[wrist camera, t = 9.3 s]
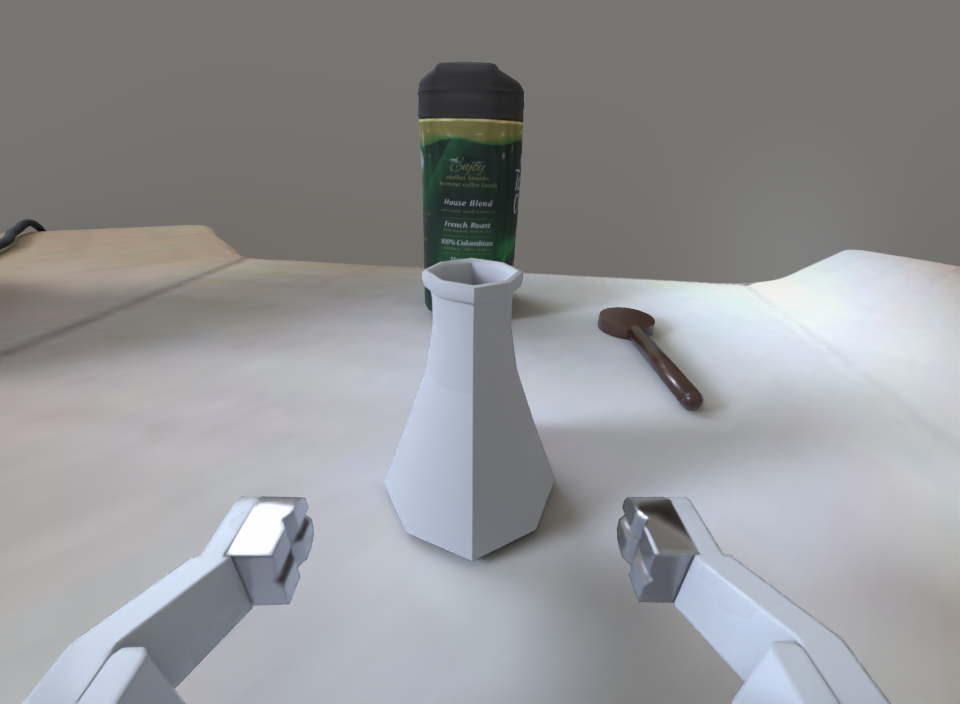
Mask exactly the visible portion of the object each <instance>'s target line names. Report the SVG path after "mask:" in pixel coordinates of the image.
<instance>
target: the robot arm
mask: <svg viewBox="0 0 960 704" xmlns="http://www.w3.org/2000/svg"><path fill="white" fill-rule="evenodd" d="M28 226H32V227H33V228H35V229H36V230H37V231H46V230H45V229H44V228H43V227H42V226H41V225H40V224H39V223H38V222H36V221H34V220H30V219H26V220H22V221H20V222H19V223H17V224H16V225H15V226H14V227H13V228H11V229H9V230H8V231H7V232H6V233H5V235H4V237H3V238H1V239H0V249H3V248H5V247H7V246H9V245H10V244H12V243H13V242H14V240H15V237H16V236H17V235H18V234H20V233H21V232H22V231H23V230H25V228H27V227H28ZM622 508H623V510H624V513H625V515H624V516H623V517H621V518H620V519H619V522H618V526H617V540H618V545H619V549H620V552H621V555H622V558H623V559H624V560H625V561H627V562H628V563H629V564H630V565H631V569H630V572H629V577H630V580H631V583H632V585H633V588H634V591H635V594H636V596H637V599H638V602H662V603H674V604H673V605H674V606H675V607H676V608H677V609H678V610H679V611H680V612H681V614H682V615H683V616H684V617H685V618H686V619H687V620H688V621H689V622H690V623H691V624H692V625H693V627H694V628H695V629H696V630H697V631H698V632H699V633H700V634H701V635H702V636H703V637H704V638H705V640H706V641H707V642H708V643H709V644H710V645H711V646H712V647H713V648H714V649H715V650H716V652H717V653H718V654H719V655H720V656H721V657H722V658H723V659H724V660H725V661H726V662H727V663H728V665H729V666H730V667H731V668H732V669H733V670H734V671H735V672H736V673H737V674H738V675H739V676H740V678H741V679H742V680H743V681H744V683H743V685H742V686H741V688H740V689H739V691H738V692H737V693H736V695H735V696H734V698H733V700H732V703H731V704H891V703H890V702H889V701H888V699H887V698H886V697H885V695H884V694H883V693H882V691H881V690H880V688H879V687H878V686H877V684H876V683H875V682H874V680H873V679H872V678H871V676H870V675H869V674H868V672H867V671H866V670H865V668H864V667H863V665H862V664H861V663H860V661H859V660H858V659H857V657H856V656H855V655H854V653H853V652H852V651H851V649H850V648H849V647H848V645H847V644H846V642H845V641H844V640H843V639H842V638H841V637H839V636H838V635H837V634H835V633H834V632H833V631H831V630H830V629H829V628H827V627H826V626H825V625H823V624H822V623H821V622H819V621H818V620H817V619H815V618H814V617H813V616H811V615H810V614H809V613H807V612H806V611H805V610H803V609H802V608H801V607H799V606H798V605H796V604H795V603H794V602H792V601H791V600H790V599H788V598H787V597H786V596H784V595H783V594H782V593H780V592H779V591H778V590H776V589H775V588H774V587H772V586H771V585H770V584H768V583H767V582H766V581H764V580H763V579H762V578H760V577H759V576H758V575H756V574H755V573H753V572H752V571H751V570H749V569H748V568H747V567H745V566H744V565H743V564H741V563H740V562H739V561H737V560H736V559H735V558H733V557H732V556H731V555H724V554H723V553H722V551H721V549H720V548H719V546H718V545H717V543H716V541H715V540H714V538H713V536H712V535H711V533H710V532H709V530H708V528H707V527H706V525H705V523H704V522H703V520H702V518H701V517H700V515H699V514H698V512H697V510H696V509H695V507H694V505H693V504H692V502H691V501H690V500H689V499H688V498H687V497H627V498H626V499H625V500H624V504H623V507H622ZM307 510H308V504H307V501H306V498H301V497H265V496H263V497H256V496H242V497H241V498H239V499H238V500H237V501H236V502H235V503H234V505H233V506H232V508H231V509H230V511H229V513H228V514H227V516H226V517H225V519H224V520H223V522H222V523H221V525H220V526H219V528H218V529H217V531H216V532H215V534H214V536H213V537H212V539H211V540H210V542H209V543H208V545H207V546H206V548H205V549H204V551H203V552H202V554H201V556H198V557H192V558H191V559H189V560H188V561H187V562H185V563H184V564H182V565H181V566H179V567H178V568H177V569H175V570H174V571H172V572H171V573H170V574H168V575H167V576H165V577H164V578H163V579H161V580H160V581H158V582H157V583H156V584H154V585H153V586H151V587H150V588H148V589H147V590H146V591H144V592H143V593H141V594H140V595H139V596H137V597H136V598H134V599H133V600H132V601H130V602H129V603H127V604H126V605H124V606H123V607H122V608H120V609H119V610H117V611H116V612H115V613H113V614H112V615H110V616H109V617H108V618H106V619H105V620H103V621H102V622H101V623H99V624H98V625H96V626H95V627H93V628H92V629H91V630H89V631H88V632H86V633H85V634H84V635H82V636H81V637H79V638H78V639H77V640H75V641H74V642H72V643H71V644H70V645H68V646H67V648H66V649H65V650H64V651H63V653H62V654H61V655H60V656H59V658H58V659H57V660H56V661H55V663H54V664H53V665H52V666H51V668H50V669H49V670H48V671H47V673H46V674H45V675H44V677H43V678H42V679H41V680H40V682H39V683H38V684H37V685H36V687H35V688H34V689H33V690H32V692H31V693H30V694H29V695H28V697H27V698H26V699H25V700H24V702H23V703H22V704H185V702H184V701H183V699H182V698H181V697H180V695H179V694H178V693H177V691H176V690H175V688H176V687H177V686H178V685H179V684H180V683H181V682H182V681H183V680H184V679H185V678H186V677H187V675H188V674H189V673H190V672H191V671H192V670H193V669H194V668H195V667H196V666H197V665H198V664H199V663H200V662H201V661H202V660H203V659H204V658H205V657H206V656H207V655H208V654H209V653H210V652H211V651H212V649H213V648H214V647H215V646H216V645H217V644H218V643H219V642H220V641H221V640H222V639H223V638H224V637H225V636H226V635H227V634H228V633H229V632H230V631H231V630H232V629H233V628H234V627H235V626H236V625H237V624H238V622H239V621H240V620H241V619H242V618H243V617H244V616H245V615H246V614H247V613H248V612H249V611H250V610H251V609H252V606H253V605H281V604H290V602H291V599H292V597H293V594H294V591H295V589H296V586H297V584H298V581H299V579H300V573H299V570H298V567H299V566H300V565H301V564H302V563H303V562H304V561H305V560H307V558H308V555H309V553H310V550H311V547H312V541H313V536H314V530H313V523H312V519H311V518H309V517H308V516H307V515H306V512H307Z"/></svg>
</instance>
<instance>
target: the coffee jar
mask: <svg viewBox="0 0 960 704" xmlns="http://www.w3.org/2000/svg"><path fill="white" fill-rule="evenodd" d="M418 95H419V108H418V117H419V118H420V120H419V133H420V147H421V164H422V188H423V221H424V270H425V269H427V268H429V267H431V266H433V265H435V264H437V263H439V262H443V261H451V260H459V259H467V258H475V259H482V260H490V261H497V262H503V263H505V264H508V265H510V266H512V267H513V265H514V250H515V238H516V227H517V215H518V203H519V202H518V201H519V189H520V173H521V154H522V136H523V134H522V133H523V123H522V122H523V109H524V100H523V98H524V91H523V89H522V87H521V85H520V84H519V83H518V82H517V81H516V80H514V79H512V78H511V77H510V76H508V75H506V74H505V73H503V72H502V71H500V70H499V69H498V67H497V66H496V65H495V64H492V63H481V62H448V63H439V64H438V65H437V66H436V67H435V69H434V70H433V71H431V72H430V73H428V74H427V75H426V76H425V77H424V78H423V79H422V80H421V81H420V83H419V92H418ZM425 303H426V306H427V307H428V309H429V310H430V311H432V295H431V291H430V290H429V289H428V288H426V287H425ZM432 312H433V311H432Z"/></svg>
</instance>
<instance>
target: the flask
mask: <svg viewBox="0 0 960 704" xmlns="http://www.w3.org/2000/svg"><path fill="white" fill-rule="evenodd" d="M422 280H423V283H424V285H425V287H426V288H428V289H429V290H430V291H431V295H432V311H433V329H432V335H431V341H430V347H429V353H428V360H427V366H426V371H425V374H424V377H423V379H422V382H421V385H420V388H419V391H418V394H417V397H416V399H415V402H414V405H413V408H412V411H411V414H410V417H409V420H408V422H407V425H406V428H405V430H404V433H403V435H402V438H401V440H400V443H399V445H398V448H397V450H396V453H395V455H394V458H393V460H392V463H391V465H390V468H389V470H388V473H387V476H386V479H385V482H384V484H385V486H386V488H387V491H388V493H389V495H390V497H391V500H392V502H393V504H394V506H395V509H396V511H397V513H398V515H399V518H400V520H401V522H402V524H403V527H404V529H405V531H406V533H409V534H411V535H413V536H416V537H418V538H420V539H422V540H425V541H427V542H429V543H432V544H434V545H436V546H438V547H441V548H443V549H445V550H448V551H450V552H452V553H454V554H457V555H459V556H461V557H464V558H466V559H468V560H470V561H474V560H476V559H478V558H480V557H482V556H484V555H486V554H488V553H490V552H492V551H494V550H496V549H498V548H500V547H502V546H504V545H506V544H508V543H510V542H512V541H514V540H516V539H518V538H520V537H522V536H524V535H526V534H528V533H530V532H532V531H534V530H536V528H537V526H538V523H539V520H540V518H541V515H542V512H543V510H544V507H545V504H546V502H547V499H548V496H549V494H550V491H551V488H552V486H553V483H554V481H555V480H554V476H553V473H552V470H551V467H550V464H549V462H548V459H547V456H546V454H545V451H544V448H543V446H542V443H541V440H540V438H539V435H538V432H537V430H536V427H535V424H534V421H533V418H532V415H531V412H530V409H529V406H528V403H527V399H526V396H525V393H524V390H523V387H522V384H521V381H520V378H519V375H518V371H517V367H516V359H515V352H514V345H513V338H512V330H511V317H512V298H513V293H514V291H516V290H517V289H518V288H519V287H520V285H521V283H522V280H523V272H522V271H520V270H518V269H516V268H514V267H512V266H510V265H508V264H505V263H503V262H497V261H490V260H482V259H475V258H467V259H459V260H451V261H443V262H439V263H437V264H435V265H433V266H431V267H429V268H427V269H425V270H423V271H422Z"/></svg>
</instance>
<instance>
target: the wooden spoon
mask: <svg viewBox="0 0 960 704" xmlns="http://www.w3.org/2000/svg"><path fill="white" fill-rule="evenodd" d="M654 324H655V320H654V318H653V317H652V316H650V315H648V314H647V313H644V312H642V311H639V310H635V309H630V308H621V307H615V308H607V309H604V310H602V311H601V312H600V315H599V320H598V327H599V328H600V329H601V330H602V331H603V332H605V333H607V334H609V335H612V336H615V337H619V338H624V339H631V341H632V342H633V343H634V344H635V346H636V347H637V348H638V350H639V351H640V352H641V353H642V355H643V356H644V357H645V358H646V360H647V361H648V362H649V363H650V365H651V366H652V367H653V369H654V370H655V371H656V372H657V374H658V375H659V376H660V377H661V379H662V380H663V381H664V382H665V384H666V385H667V386H668V388H669V389H670V390H671V391H672V393H673V394H674V395H675V396H676V398H677V399H678V400H679V401H680V403H681V404H682V405H683V406H684V407H685V408H687V409H689V410H696V409H698V408H700V407H701V406H702V404H703V396H702V395H701V393H700V392H699V391H698V390H697V389H696V388H695V387H694V386H693V384H692V383H691V382H690V381H689V380H688V379H687V378H686V377H685V375H684V374H683V373H682V372H681V371H680V370H679V369H678V368H677V367H676V365H675V364H674V363H673V362H672V361H671V360H670V359H669V358H668V357H667V355H666V354H665V353H664V352H663V351H662V350H661V349H660V348H659V346H658V345H657V344H656V343H655V342H654V341H653V340H652V339H651V338H650V336H651V334H652V332H653V328H654Z"/></svg>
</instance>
